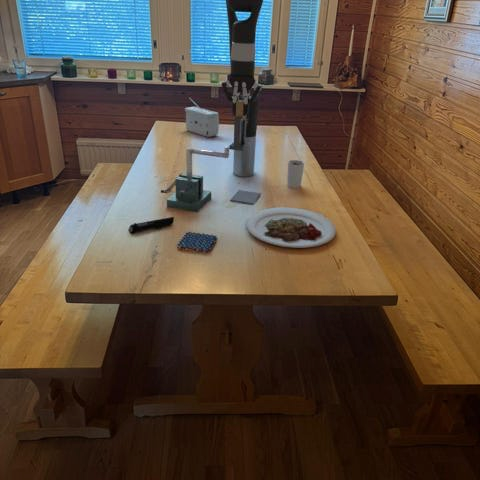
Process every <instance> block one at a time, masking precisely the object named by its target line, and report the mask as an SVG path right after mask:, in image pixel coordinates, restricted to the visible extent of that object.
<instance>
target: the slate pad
mask: <svg viewBox="0 0 480 480" xmlns="http://www.w3.org/2000/svg"><path fill="white" fill-rule="evenodd" d="M260 196H261V192H256V191H255V192H254V191H250V190H244V189H238V190H237V192H235V193H234V195H233V196H232V197H231V198H230V199H229V201H230V202H232V203H233V202H234V203H240V204H245V205H254V204H255V202H256V201H257V200H258V199H259V198H260Z"/></svg>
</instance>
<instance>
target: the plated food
mask: <svg viewBox="0 0 480 480" xmlns="http://www.w3.org/2000/svg"><path fill="white" fill-rule="evenodd" d="M245 225H246V228H247V231H248V232H249V233H250V234H251V235H252V236H254V237H255V238H256V239H258V240H260V241H262V242H265V243H267V244H271V245H274V246H279V247H284V248H293V249H295V248H297V249H299V248H301V249H302V248H303V249H305V248H312V247H318V246H321V245H324V244H327V243H329V242H330V241H332V239H334V237H335V236H336V233H337V230H336V226H335V225H334V223H333V222H332V221H331V220H330V219H328V218H327V217H326V216H323V214H322V215H321V214H320V213H317V212H315V211H311V210H306V209H301V208H297V207H279V206H278V207H270V208H265V209H261V210H258V211H256V212H254V213H252V214H251V215H249V216H248V217H247V219H246V221H245Z"/></svg>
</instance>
